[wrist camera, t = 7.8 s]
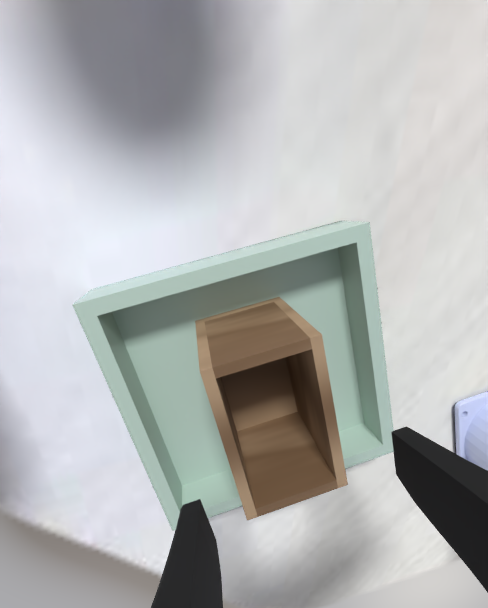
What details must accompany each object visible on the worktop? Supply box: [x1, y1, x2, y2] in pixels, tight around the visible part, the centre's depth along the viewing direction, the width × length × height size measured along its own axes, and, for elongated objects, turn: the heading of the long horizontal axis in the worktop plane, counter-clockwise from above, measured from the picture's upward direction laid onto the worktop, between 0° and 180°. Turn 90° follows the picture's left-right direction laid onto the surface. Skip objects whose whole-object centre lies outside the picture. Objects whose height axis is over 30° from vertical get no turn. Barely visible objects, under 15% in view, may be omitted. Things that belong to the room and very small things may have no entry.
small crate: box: [195, 297, 348, 520], centre depth 16 cm, size 8×5×6 cm, turn 14°
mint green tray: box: [73, 221, 394, 531], centre depth 18 cm, size 15×15×3 cm
